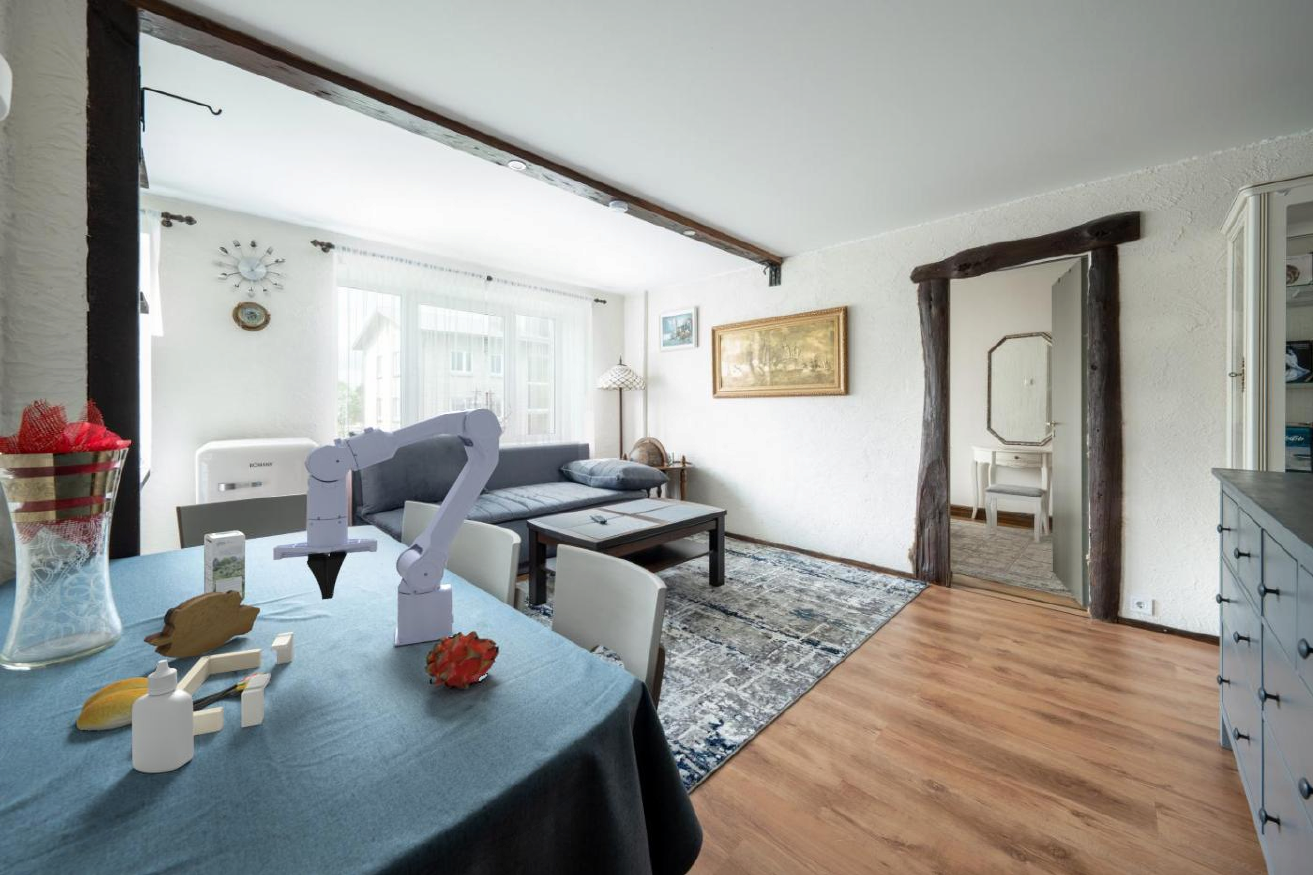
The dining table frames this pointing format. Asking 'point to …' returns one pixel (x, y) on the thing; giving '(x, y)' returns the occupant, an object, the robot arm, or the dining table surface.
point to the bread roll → (112, 705)
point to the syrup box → (224, 562)
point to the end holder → (211, 665)
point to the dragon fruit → (460, 660)
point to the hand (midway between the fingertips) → (327, 597)
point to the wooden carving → (203, 624)
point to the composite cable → (225, 693)
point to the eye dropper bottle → (162, 724)
